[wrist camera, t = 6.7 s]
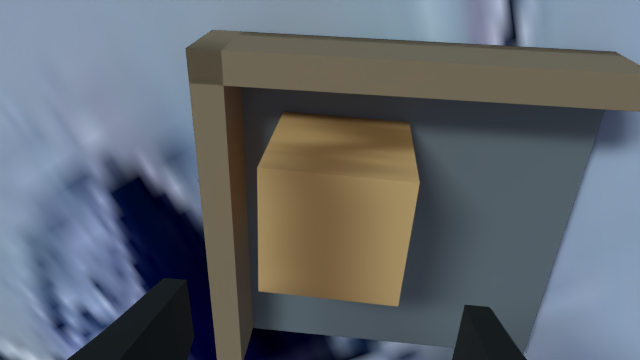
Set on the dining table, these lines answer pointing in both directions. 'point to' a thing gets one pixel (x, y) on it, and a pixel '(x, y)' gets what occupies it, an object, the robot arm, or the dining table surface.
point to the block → (336, 207)
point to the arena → (432, 164)
